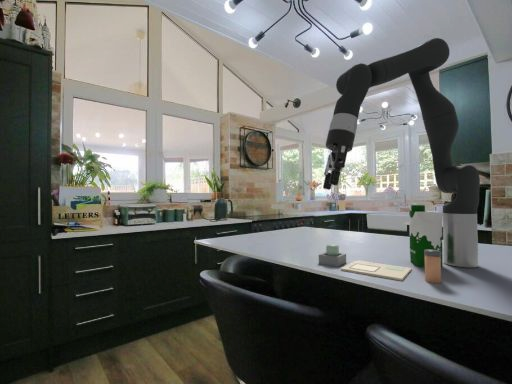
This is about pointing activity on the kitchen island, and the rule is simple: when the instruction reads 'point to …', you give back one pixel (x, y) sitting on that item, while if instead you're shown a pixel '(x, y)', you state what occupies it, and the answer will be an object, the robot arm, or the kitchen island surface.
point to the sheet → (378, 270)
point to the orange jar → (432, 266)
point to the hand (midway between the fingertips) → (329, 187)
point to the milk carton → (424, 233)
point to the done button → (332, 250)
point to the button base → (332, 259)
